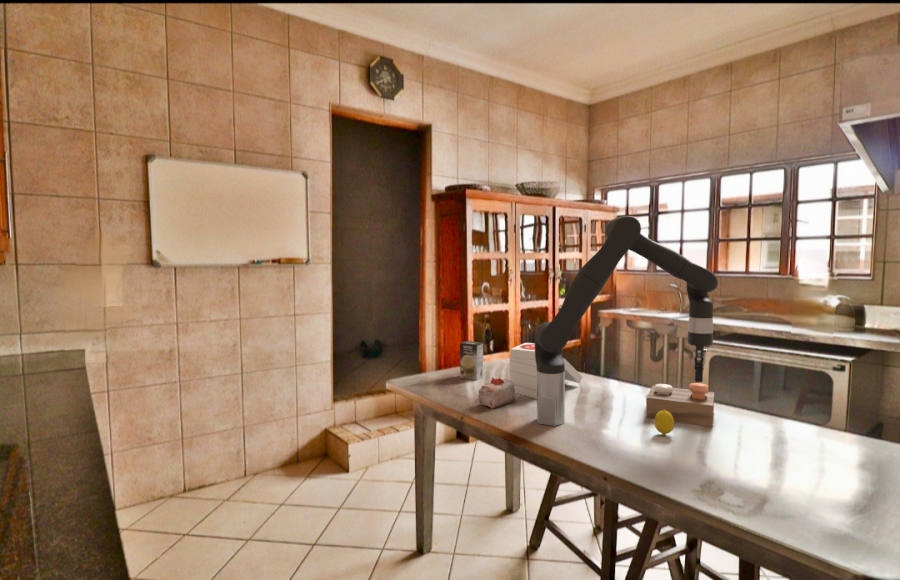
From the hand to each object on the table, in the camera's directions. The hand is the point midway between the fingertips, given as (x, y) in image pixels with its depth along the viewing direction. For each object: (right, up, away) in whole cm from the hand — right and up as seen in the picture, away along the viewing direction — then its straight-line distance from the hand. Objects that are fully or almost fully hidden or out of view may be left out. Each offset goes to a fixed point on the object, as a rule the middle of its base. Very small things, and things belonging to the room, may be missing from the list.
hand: (698, 381), depth 168 cm
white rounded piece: (-9, -11, +6) cm, 16 cm away
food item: (-66, -12, +20) cm, 70 cm away
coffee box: (-74, -9, +58) cm, 94 cm away
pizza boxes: (-45, -10, +38) cm, 60 cm away
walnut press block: (-5, -12, +4) cm, 14 cm away
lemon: (-18, -14, -14) cm, 27 cm away
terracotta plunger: (0, -10, +1) cm, 10 cm away
